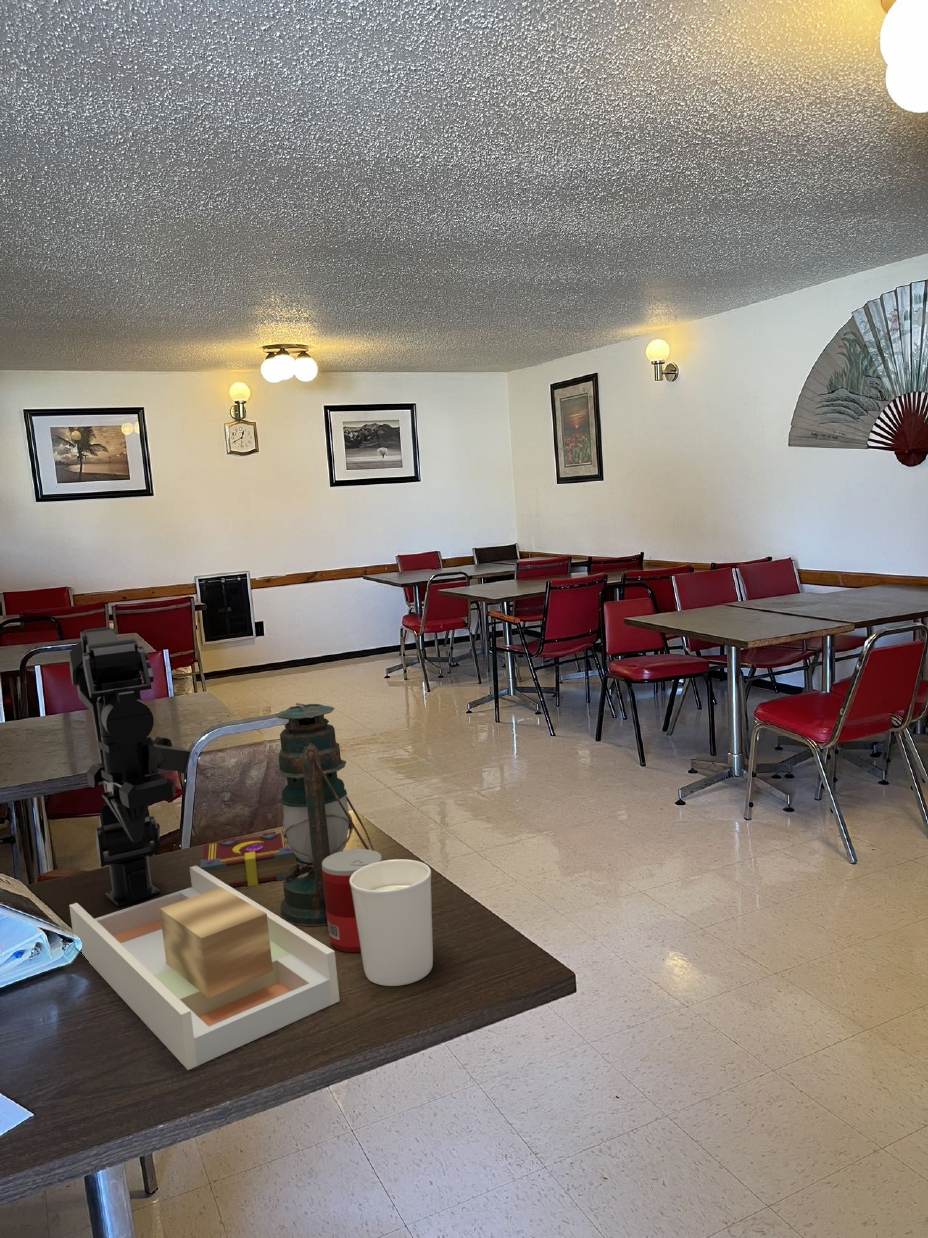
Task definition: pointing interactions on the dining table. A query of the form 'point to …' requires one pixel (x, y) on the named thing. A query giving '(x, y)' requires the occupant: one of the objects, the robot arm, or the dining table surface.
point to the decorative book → (249, 860)
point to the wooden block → (216, 941)
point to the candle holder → (394, 920)
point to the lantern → (311, 809)
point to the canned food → (343, 895)
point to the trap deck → (179, 1010)
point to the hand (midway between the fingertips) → (136, 841)
